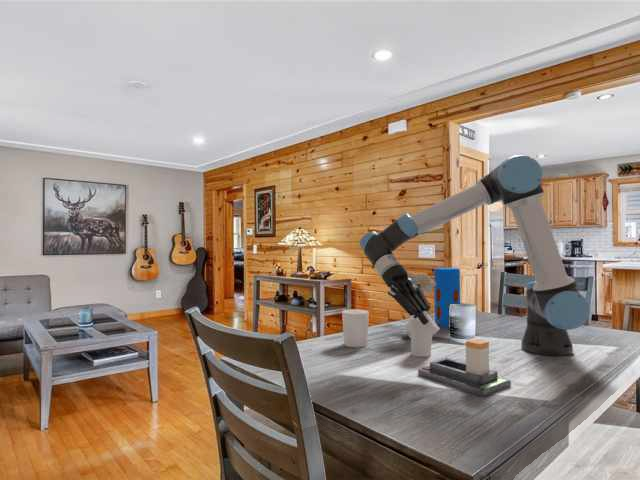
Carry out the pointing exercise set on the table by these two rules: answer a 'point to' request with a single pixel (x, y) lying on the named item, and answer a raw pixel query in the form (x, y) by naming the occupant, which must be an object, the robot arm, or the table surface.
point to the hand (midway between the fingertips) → (435, 332)
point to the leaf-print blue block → (445, 293)
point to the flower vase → (425, 287)
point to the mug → (420, 339)
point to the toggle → (477, 357)
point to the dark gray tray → (464, 377)
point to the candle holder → (355, 327)
